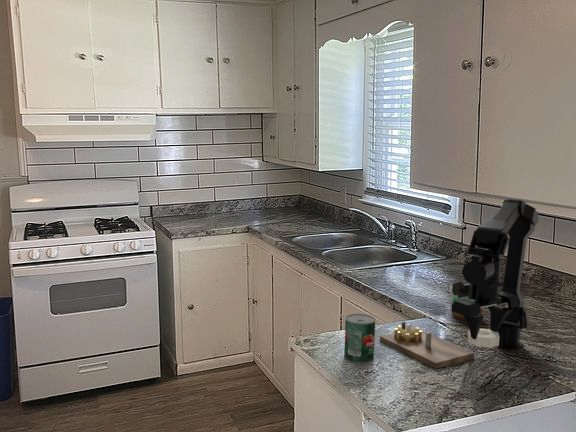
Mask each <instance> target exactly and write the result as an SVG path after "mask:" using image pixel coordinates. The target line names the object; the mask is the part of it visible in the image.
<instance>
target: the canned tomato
mask: <svg viewBox="0 0 576 432" xmlns="http://www.w3.org/2000/svg"><path fill="white" fill-rule="evenodd" d="M344 319H345V321H344V322H345V324H344V346H343V347H344V350H343V351H344V354H343V359H344V360H346V362H348V363H351V364H357V365H365V364H369V363H372V362H373V361H374V360H375V357H374V356H375V334H376V333H375V332H376V318H375V317H374V316H372V315H371V314H370V315H369V314H363V313H352V314H347V315H346V316H345V318H344Z"/></svg>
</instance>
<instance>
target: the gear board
mask: <svg viewBox="0 0 576 432" xmlns="http://www.w3.org/2000/svg"><path fill="white" fill-rule="evenodd" d="M419 331H422V339H419V341H418V342H415V341H414V342H405V341H402V340H397V337H394V332H392V333H388V334H384V335H380V336H379V342H381V343H383V344H384V345H388V346H389V347H390V348H393V349H395V350H397V351H399V352H401V353H403V354H405V355H408V356H409V357H411V358H414V359H415V360H417V361H419V362H421V363H424V364H425V365H427V366H430V367H431V368H434V369H435V370H437V369H440V368H443V367H446V366H450V365H454V364H457V363H461V362H465V361H468V360H469V361H470V360H472V359H475V352H473V351H471V350H468V349H467V348H464V347H462V346H459V345H457V344H455V343H453V342H449V341H448V340H445V339H443V338H441V337H438V336H436V335H434V334H432V332H430V331H425V330H422V329H420V328H419Z"/></svg>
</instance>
